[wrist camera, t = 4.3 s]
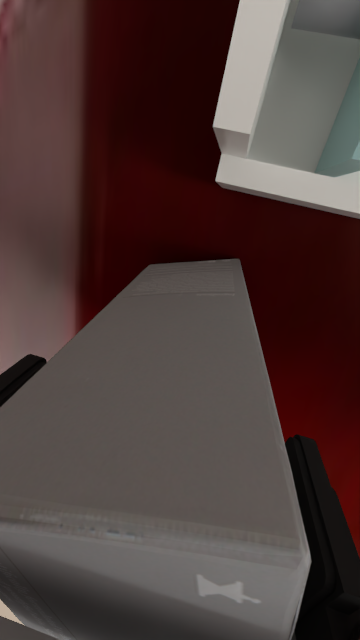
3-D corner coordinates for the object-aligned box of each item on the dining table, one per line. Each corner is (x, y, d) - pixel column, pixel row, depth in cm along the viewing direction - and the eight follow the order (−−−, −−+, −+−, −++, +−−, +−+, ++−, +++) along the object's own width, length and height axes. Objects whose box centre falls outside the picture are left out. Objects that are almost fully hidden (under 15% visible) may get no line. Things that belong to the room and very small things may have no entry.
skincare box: (150, 262, 18) (-168, 474, 4) (254, 256, 16) (352, 583, 2) (164, 362, 21) (22, 669, 7) (252, 365, 20) (286, 768, 6)
